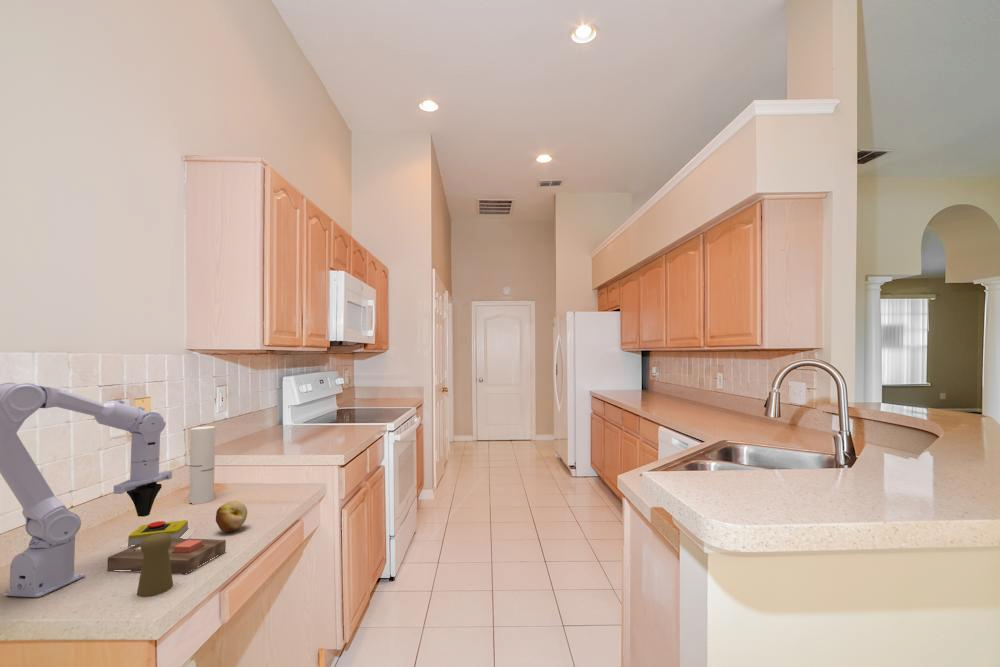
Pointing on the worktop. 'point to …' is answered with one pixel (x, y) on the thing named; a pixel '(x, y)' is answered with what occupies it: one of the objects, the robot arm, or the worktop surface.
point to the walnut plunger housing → (177, 560)
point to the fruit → (231, 516)
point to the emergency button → (158, 530)
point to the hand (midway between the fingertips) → (143, 515)
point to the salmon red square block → (188, 546)
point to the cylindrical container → (202, 465)
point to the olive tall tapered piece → (155, 565)
